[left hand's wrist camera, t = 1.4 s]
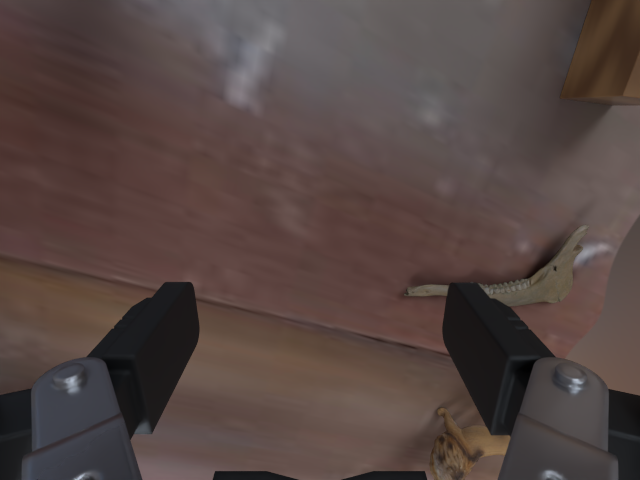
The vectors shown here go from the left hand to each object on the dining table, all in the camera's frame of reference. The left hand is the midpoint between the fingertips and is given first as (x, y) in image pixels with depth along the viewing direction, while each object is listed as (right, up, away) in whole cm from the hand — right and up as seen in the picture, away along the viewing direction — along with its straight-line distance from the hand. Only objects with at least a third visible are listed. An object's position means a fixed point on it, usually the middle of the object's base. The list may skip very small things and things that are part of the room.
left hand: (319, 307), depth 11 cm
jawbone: (+20, 0, +30) cm, 36 cm away
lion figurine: (+20, -22, +38) cm, 48 cm away
